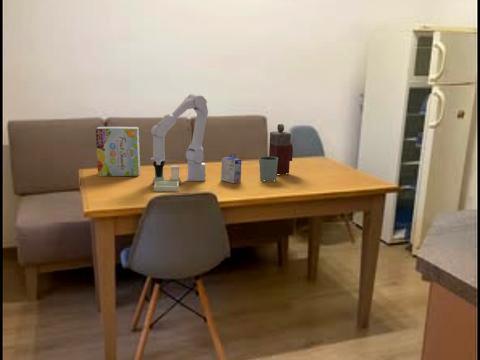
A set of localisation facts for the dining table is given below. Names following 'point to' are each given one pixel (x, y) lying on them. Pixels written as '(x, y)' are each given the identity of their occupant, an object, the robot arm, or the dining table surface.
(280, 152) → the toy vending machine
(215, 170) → the dining table surface
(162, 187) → the tray
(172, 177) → the block
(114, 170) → the snack box
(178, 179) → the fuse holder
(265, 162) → the drinking glass
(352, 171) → the dining table surface
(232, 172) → the ink cartridge box
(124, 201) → the dining table surface
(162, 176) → the block
